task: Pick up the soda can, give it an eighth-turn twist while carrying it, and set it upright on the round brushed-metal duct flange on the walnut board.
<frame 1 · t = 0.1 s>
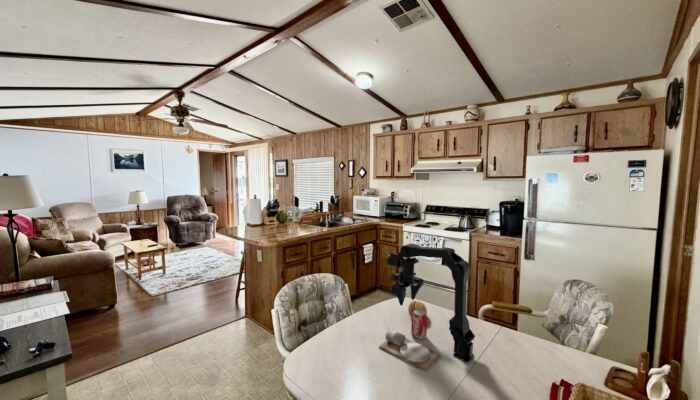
hand: (407, 302, 141), 14 cm above the table, tool pointing down, fingers open, 9 cm apart
bread roll: (417, 317, 157), on the table
duct board: (409, 351, 126), on the table
soda can: (418, 337, 138), on the table
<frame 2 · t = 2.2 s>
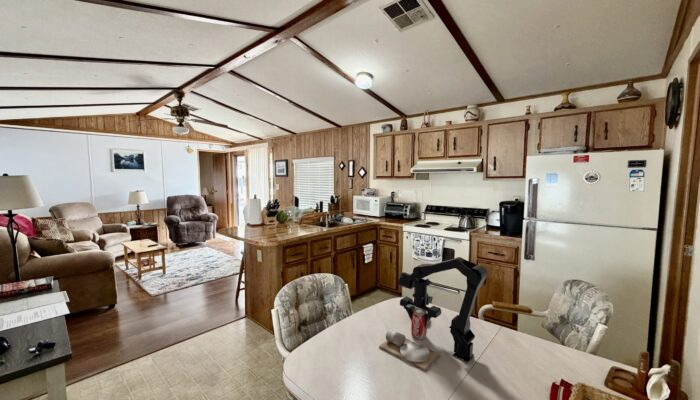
hand: (419, 324, 138), 6 cm above the table, tool pointing down, fingers closed on soda can, 7 cm apart
soda can: (418, 337, 138), on the table, touching gripper
everything else where it was.
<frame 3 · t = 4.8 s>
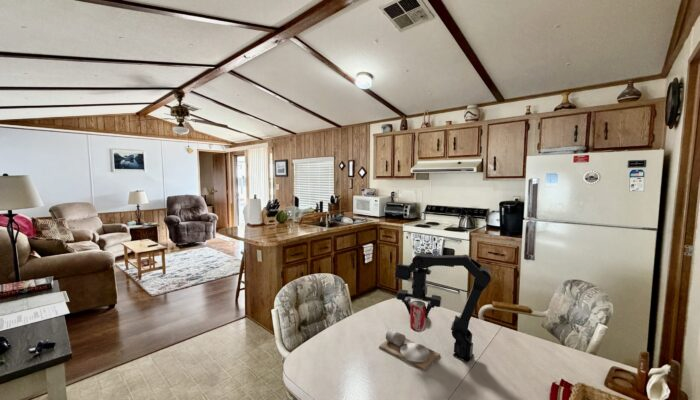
hand: (418, 316, 131), 13 cm above the table, tool pointing down, fingers closed on soda can, 7 cm apart
soda can: (417, 329, 132), point 7 cm above the table, touching gripper
everything else where it was.
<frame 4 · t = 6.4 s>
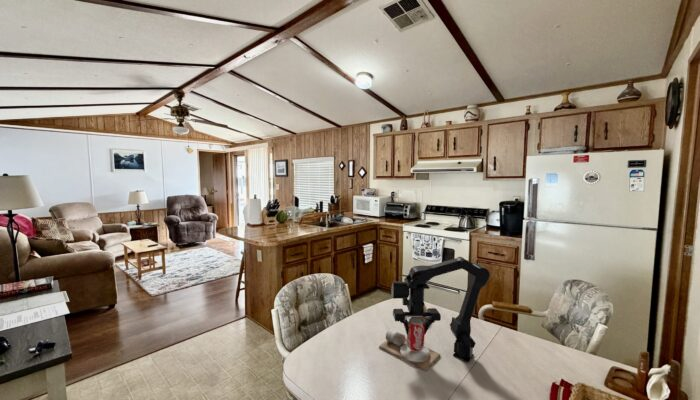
hand: (415, 334, 123), 9 cm above the table, tool pointing down, fingers closed on soda can, 7 cm apart
soda can: (415, 348, 124), point 3 cm above the table, touching gripper
everything else where it was.
when the fingers open (9 cm above the table, at t = 7.5 s): soda can stays where it is, resting on duct board.
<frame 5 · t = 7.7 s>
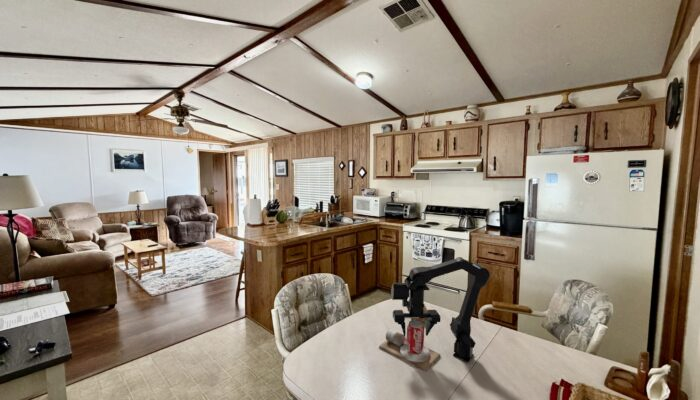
hand: (415, 335, 123), 9 cm above the table, tool pointing down, fingers open, 9 cm apart
soda can: (414, 351, 124), point 2 cm above the table, touching duct board
everything else where it was.
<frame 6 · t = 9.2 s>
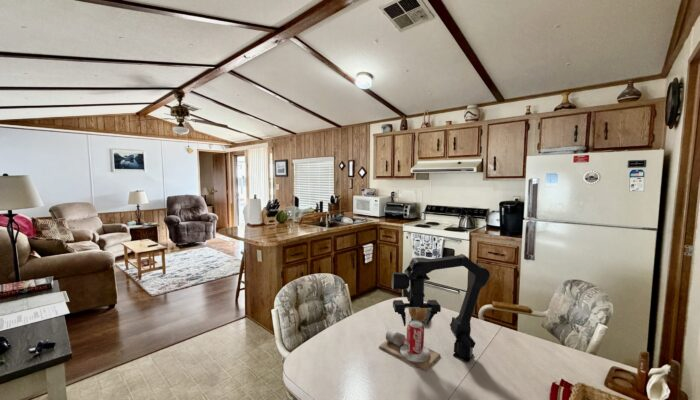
hand: (415, 325, 123), 13 cm above the table, tool pointing down, fingers open, 9 cm apart
nothing on the table moved.
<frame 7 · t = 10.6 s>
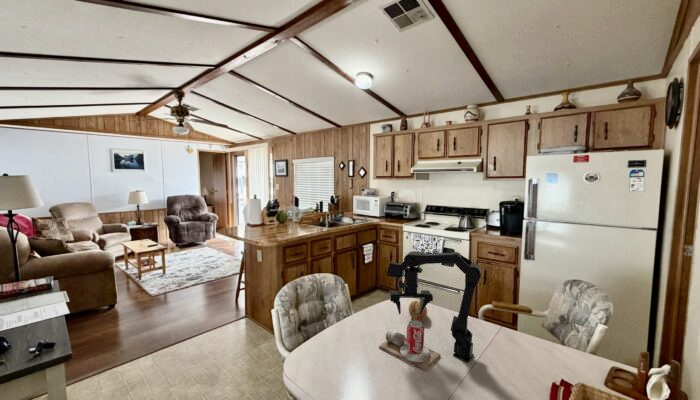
hand: (409, 314, 132), 13 cm above the table, tool pointing down, fingers open, 9 cm apart
nothing on the table moved.
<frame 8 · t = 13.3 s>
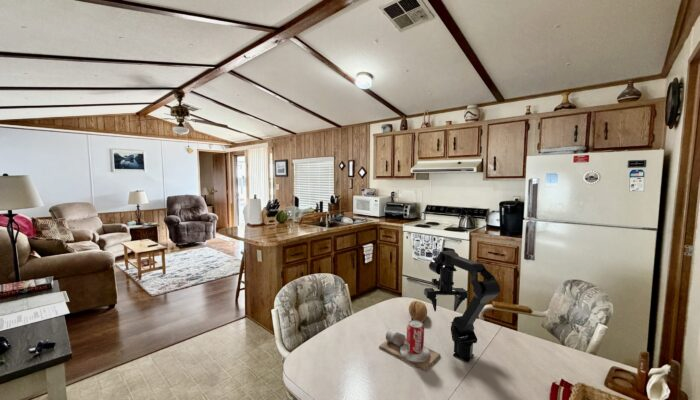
hand: (444, 311, 136), 13 cm above the table, tool pointing down, fingers open, 9 cm apart
nothing on the table moved.
at the end: soda can 0.1 cm from the target spot, point 1.8 cm above the table; soda can tilted 0°; the gripper is holding nothing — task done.
